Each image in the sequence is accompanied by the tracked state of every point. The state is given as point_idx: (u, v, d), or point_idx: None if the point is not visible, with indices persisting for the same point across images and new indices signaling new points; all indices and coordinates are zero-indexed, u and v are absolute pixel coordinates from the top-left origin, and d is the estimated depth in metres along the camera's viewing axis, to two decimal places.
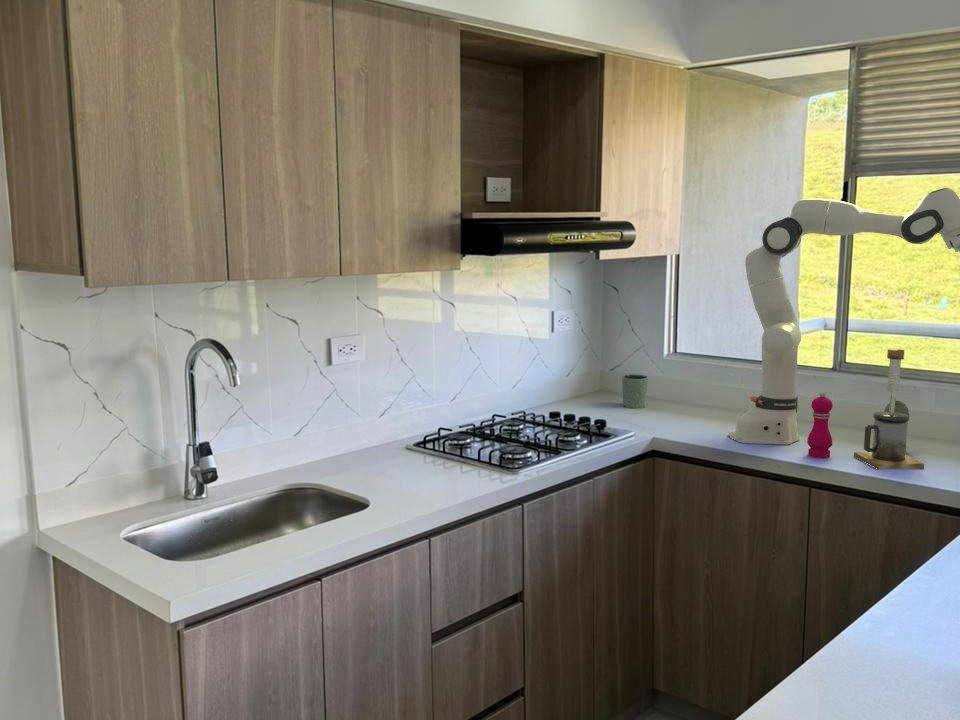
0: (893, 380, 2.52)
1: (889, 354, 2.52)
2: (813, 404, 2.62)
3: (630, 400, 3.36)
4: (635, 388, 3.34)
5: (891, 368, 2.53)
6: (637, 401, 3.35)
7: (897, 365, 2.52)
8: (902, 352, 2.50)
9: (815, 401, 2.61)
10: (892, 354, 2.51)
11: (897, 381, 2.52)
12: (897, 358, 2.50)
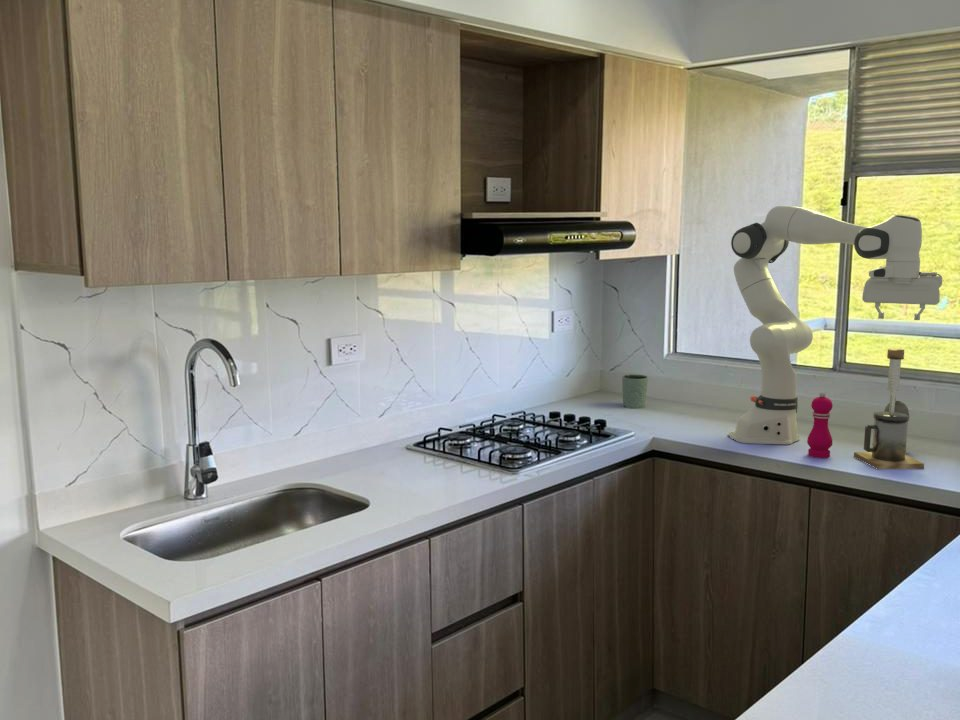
0: (893, 380, 2.52)
1: (889, 354, 2.52)
2: (813, 404, 2.62)
3: (630, 400, 3.36)
4: (635, 388, 3.34)
5: (891, 368, 2.53)
6: (637, 401, 3.35)
7: (897, 365, 2.52)
8: (902, 352, 2.50)
9: (815, 401, 2.61)
10: (892, 354, 2.51)
11: (897, 381, 2.52)
12: (897, 358, 2.50)
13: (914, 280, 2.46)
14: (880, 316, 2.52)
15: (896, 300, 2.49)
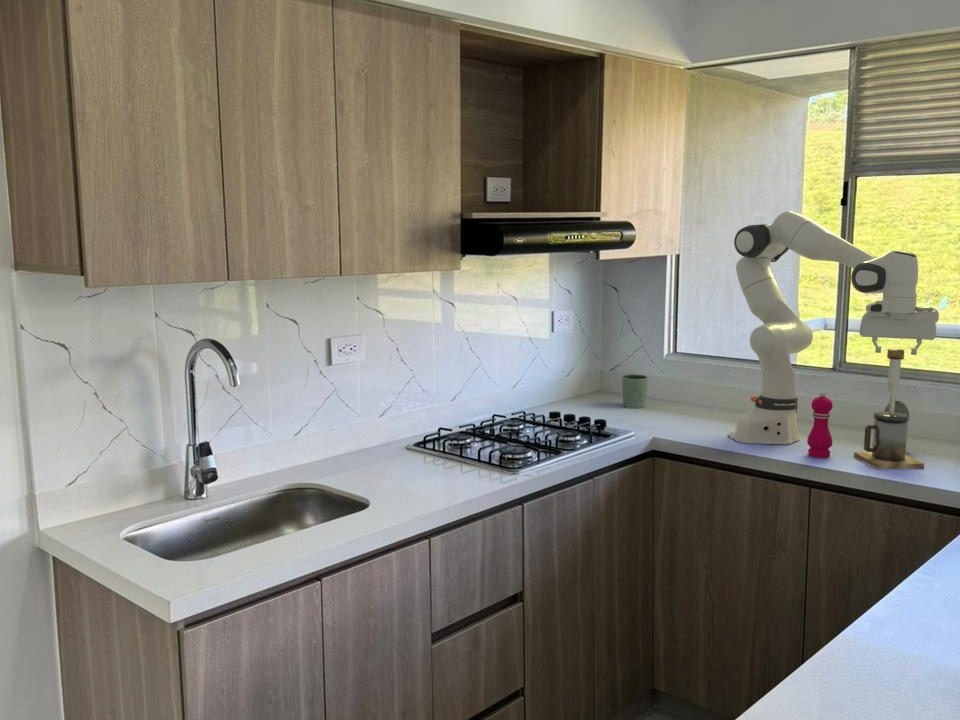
0: (893, 380, 2.52)
1: (889, 354, 2.52)
2: (813, 404, 2.62)
3: (630, 400, 3.36)
4: (635, 388, 3.34)
5: (891, 368, 2.53)
6: (637, 401, 3.35)
7: (897, 365, 2.52)
8: (902, 352, 2.50)
9: (815, 401, 2.61)
10: (892, 354, 2.51)
11: (897, 381, 2.52)
12: (897, 358, 2.50)
13: (911, 315, 2.48)
14: (877, 350, 2.53)
15: (893, 335, 2.50)
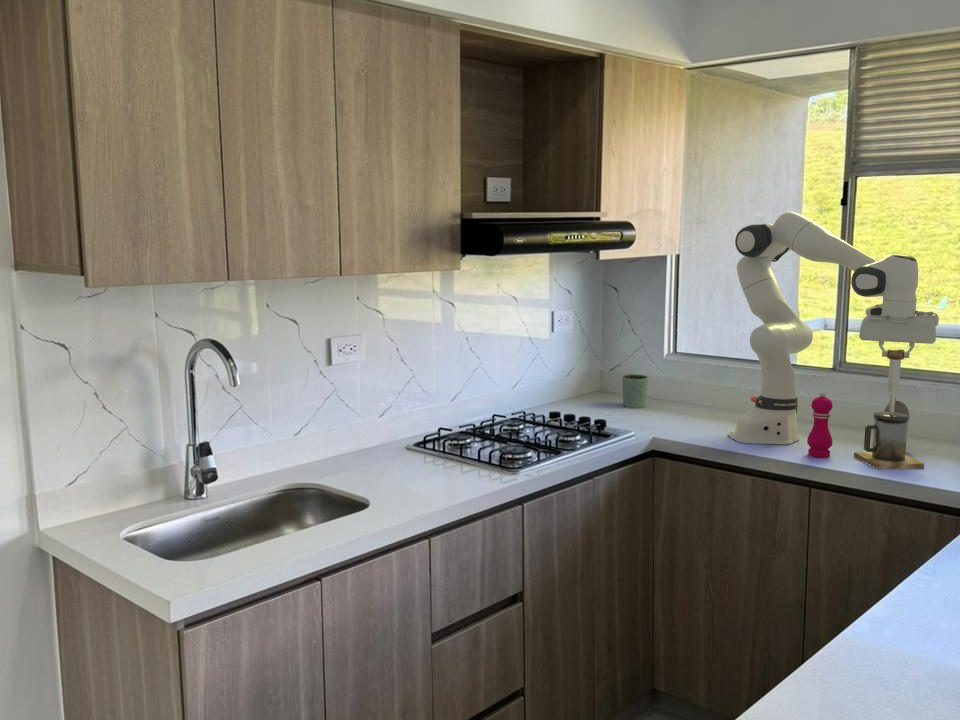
0: (893, 380, 2.52)
1: (889, 354, 2.52)
2: (813, 404, 2.62)
3: (630, 400, 3.36)
4: (635, 388, 3.34)
5: (891, 368, 2.53)
6: (637, 401, 3.35)
7: (897, 365, 2.52)
8: (902, 352, 2.50)
9: (815, 401, 2.61)
10: (892, 354, 2.51)
11: (897, 381, 2.52)
12: (897, 358, 2.50)
13: (910, 319, 2.48)
14: (884, 354, 2.53)
15: (892, 339, 2.50)
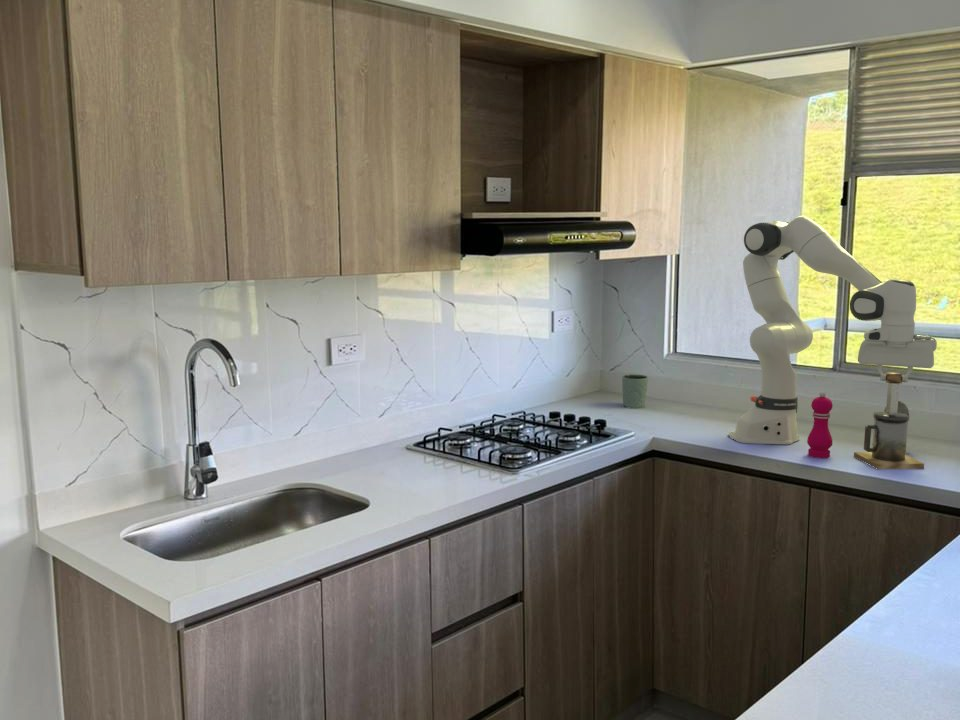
0: (891, 404, 2.53)
1: (887, 378, 2.53)
2: (813, 404, 2.62)
3: (630, 400, 3.36)
4: (635, 388, 3.34)
5: (889, 392, 2.54)
6: (637, 401, 3.35)
7: (895, 389, 2.53)
8: (900, 376, 2.51)
9: (815, 401, 2.61)
10: (891, 378, 2.52)
11: (895, 405, 2.53)
12: (895, 382, 2.51)
13: (909, 343, 2.49)
14: (882, 378, 2.54)
15: (891, 363, 2.51)
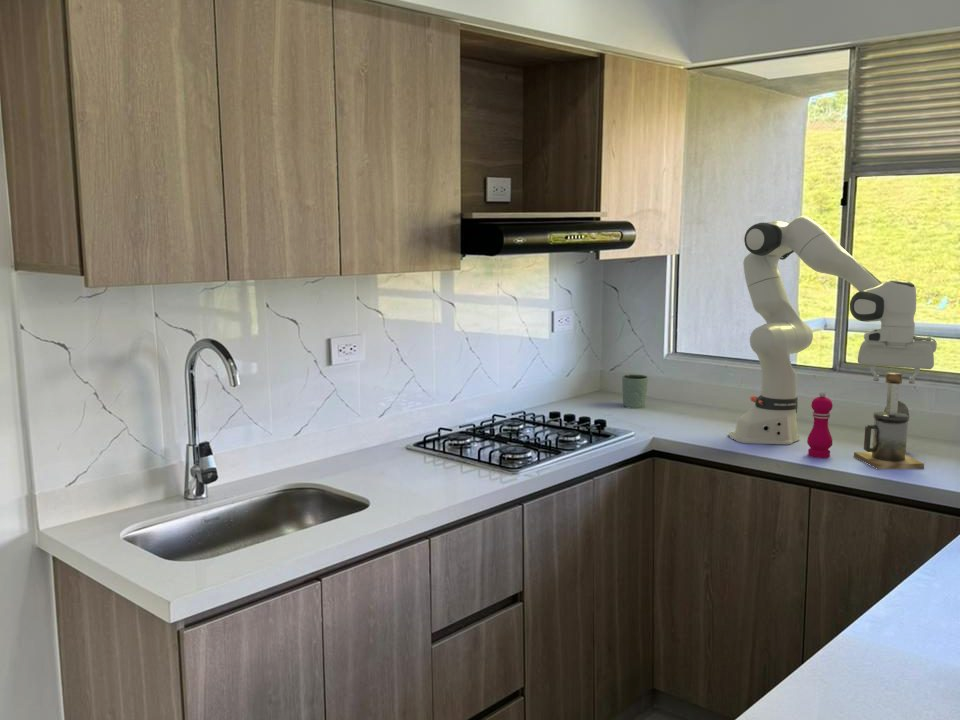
0: (891, 404, 2.53)
1: (887, 378, 2.53)
2: (813, 404, 2.62)
3: (630, 400, 3.36)
4: (635, 388, 3.34)
5: (889, 392, 2.54)
6: (637, 401, 3.35)
7: (895, 389, 2.53)
8: (900, 376, 2.51)
9: (815, 401, 2.61)
10: (891, 378, 2.52)
11: (895, 405, 2.53)
12: (895, 382, 2.51)
13: (909, 344, 2.49)
14: (875, 379, 2.55)
15: (891, 364, 2.51)
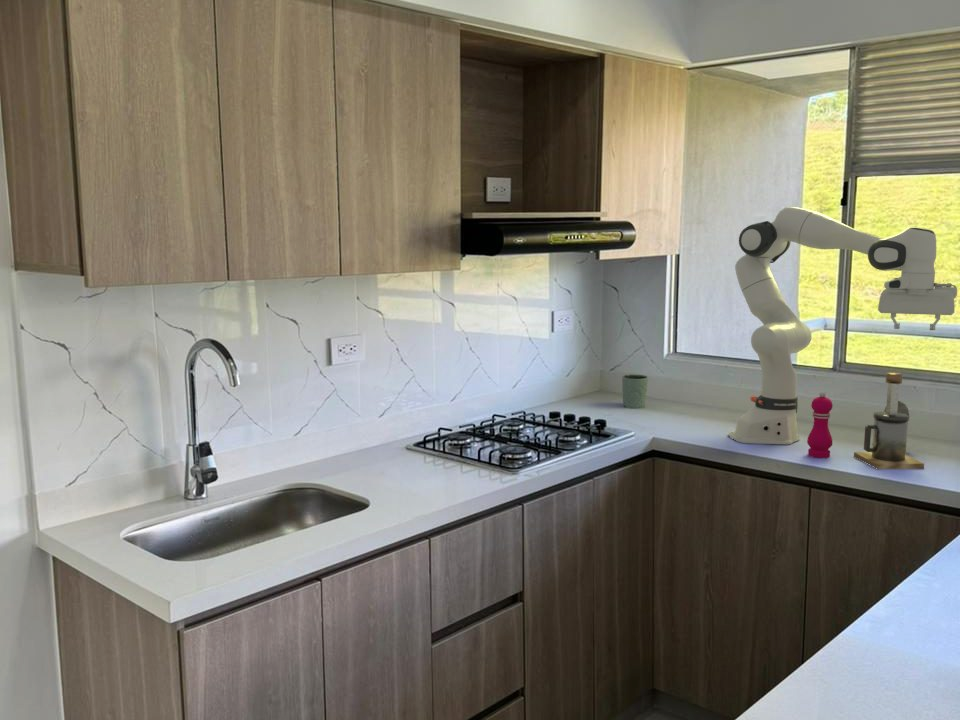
0: (891, 404, 2.53)
1: (887, 378, 2.53)
2: (813, 404, 2.62)
3: (630, 400, 3.36)
4: (635, 388, 3.34)
5: (889, 392, 2.54)
6: (637, 401, 3.35)
7: (895, 389, 2.53)
8: (900, 376, 2.51)
9: (815, 401, 2.61)
10: (891, 378, 2.52)
11: (895, 405, 2.53)
12: (895, 382, 2.51)
13: (929, 291, 2.51)
14: (896, 326, 2.57)
15: (911, 311, 2.53)
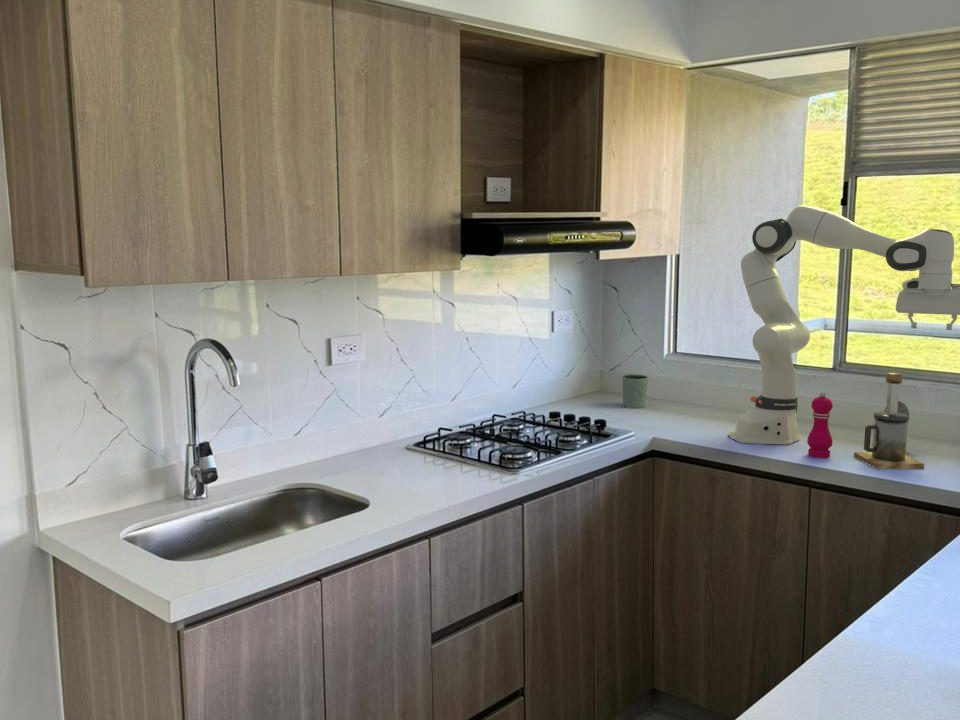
0: (891, 404, 2.53)
1: (887, 378, 2.53)
2: (813, 404, 2.62)
3: (630, 400, 3.36)
4: (635, 388, 3.34)
5: (889, 392, 2.54)
6: (637, 401, 3.35)
7: (895, 389, 2.53)
8: (900, 376, 2.51)
9: (815, 401, 2.61)
10: (891, 378, 2.52)
11: (895, 405, 2.53)
12: (895, 382, 2.51)
13: (946, 291, 2.55)
14: (913, 326, 2.61)
15: (928, 311, 2.58)
